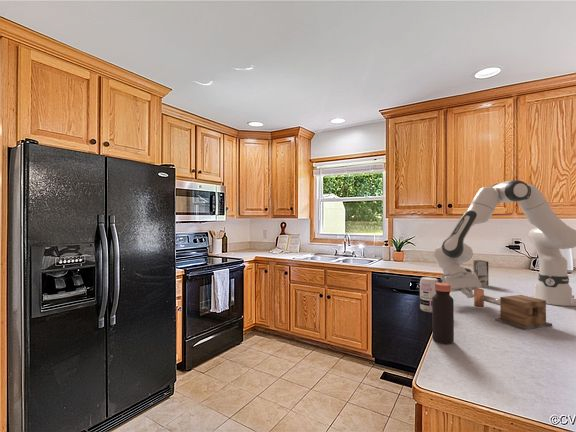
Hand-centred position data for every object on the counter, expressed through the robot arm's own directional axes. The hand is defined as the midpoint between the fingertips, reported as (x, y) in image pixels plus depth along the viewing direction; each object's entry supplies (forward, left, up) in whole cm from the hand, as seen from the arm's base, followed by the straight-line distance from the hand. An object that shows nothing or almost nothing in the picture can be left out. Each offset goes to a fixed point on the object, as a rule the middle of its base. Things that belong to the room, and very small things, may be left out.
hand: (471, 297), depth 154 cm
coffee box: (-57, -18, -5) cm, 60 cm away
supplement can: (+22, -10, -5) cm, 24 cm away
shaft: (+4, +11, -3) cm, 13 cm away
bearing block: (+9, +23, -5) cm, 25 cm away
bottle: (+54, +12, -5) cm, 55 cm away
